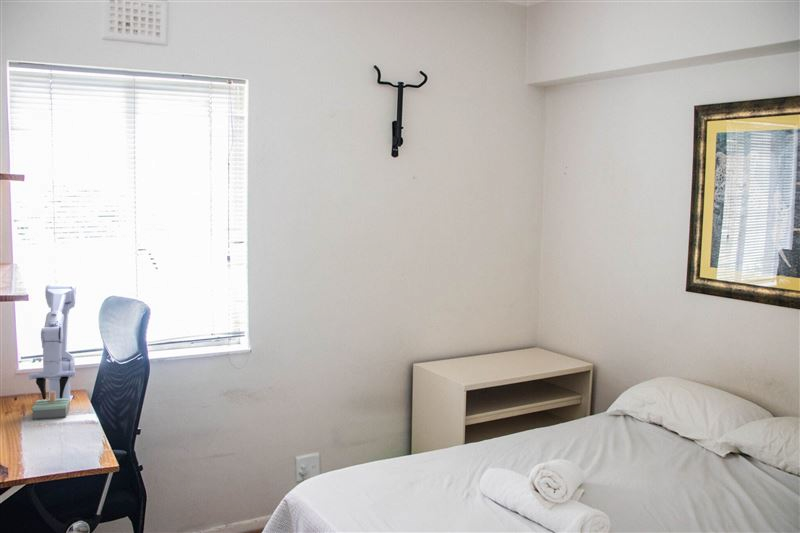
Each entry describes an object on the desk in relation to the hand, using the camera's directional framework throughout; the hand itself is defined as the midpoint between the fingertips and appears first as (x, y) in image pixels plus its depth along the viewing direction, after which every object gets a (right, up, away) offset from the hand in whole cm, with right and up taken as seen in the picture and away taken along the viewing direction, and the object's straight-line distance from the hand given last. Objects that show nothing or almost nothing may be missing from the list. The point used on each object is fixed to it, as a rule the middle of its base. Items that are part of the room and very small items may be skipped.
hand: (52, 398), depth 232 cm
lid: (+1, -3, -2) cm, 4 cm away
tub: (+1, -5, -2) cm, 6 cm away
